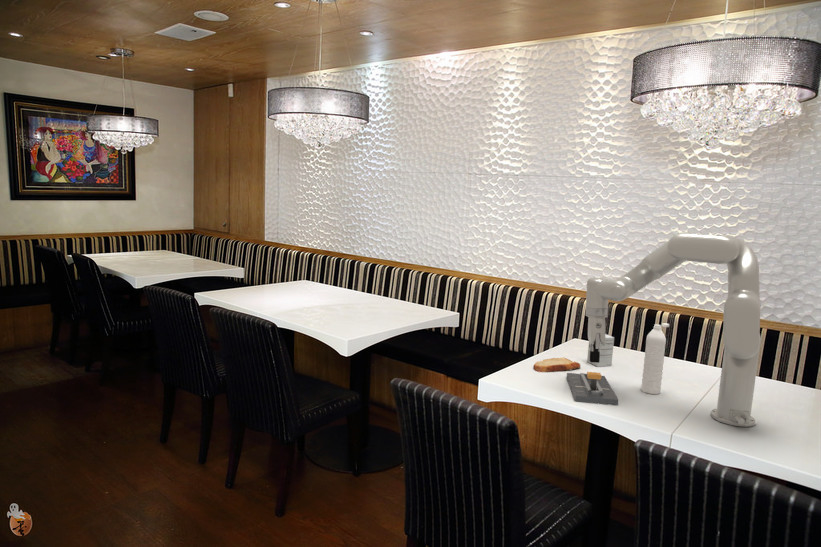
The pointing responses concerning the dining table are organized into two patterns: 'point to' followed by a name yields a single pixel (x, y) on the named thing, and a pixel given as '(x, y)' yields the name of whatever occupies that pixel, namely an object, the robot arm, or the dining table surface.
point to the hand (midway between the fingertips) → (594, 361)
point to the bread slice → (555, 365)
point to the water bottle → (654, 360)
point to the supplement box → (604, 352)
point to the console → (585, 394)
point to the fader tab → (593, 379)
